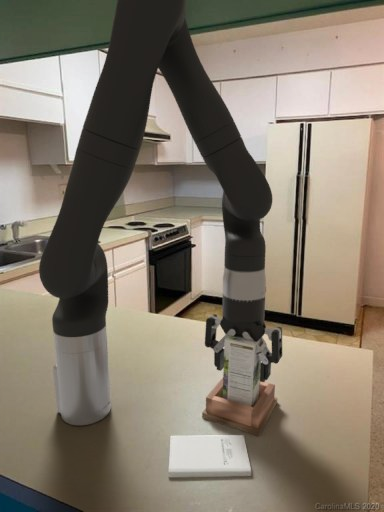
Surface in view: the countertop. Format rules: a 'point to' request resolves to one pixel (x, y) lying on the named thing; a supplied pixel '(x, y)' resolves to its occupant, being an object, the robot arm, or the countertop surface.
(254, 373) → the syrup box
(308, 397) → the countertop surface
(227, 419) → the socket
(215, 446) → the external hard drive
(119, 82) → the robot arm
